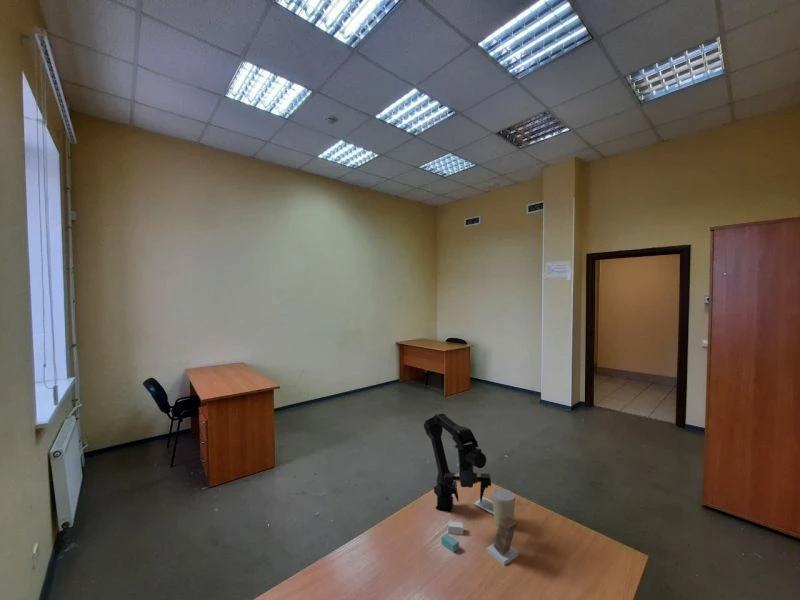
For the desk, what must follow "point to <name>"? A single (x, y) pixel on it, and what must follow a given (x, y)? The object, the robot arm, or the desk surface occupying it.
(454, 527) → the light grey brick
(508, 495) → the coffee cup
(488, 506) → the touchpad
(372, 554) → the desk surface
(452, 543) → the teal brick
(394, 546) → the desk surface
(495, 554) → the grey slab
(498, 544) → the walnut block
